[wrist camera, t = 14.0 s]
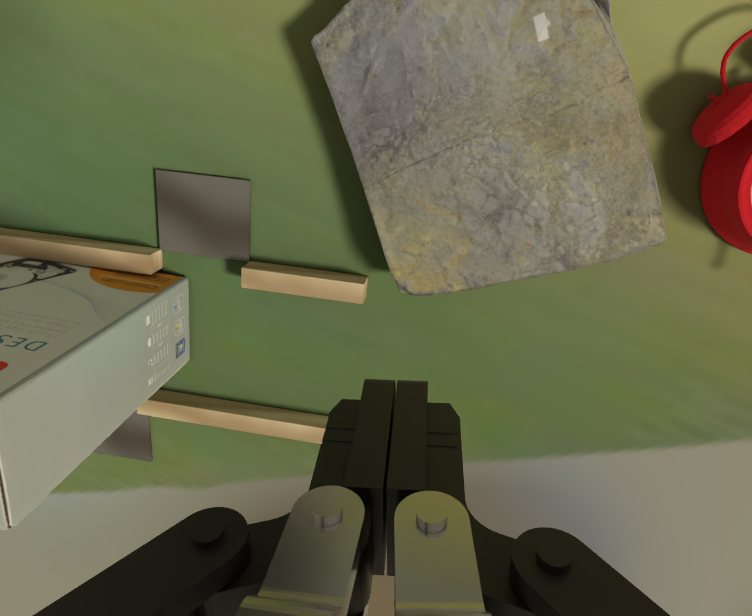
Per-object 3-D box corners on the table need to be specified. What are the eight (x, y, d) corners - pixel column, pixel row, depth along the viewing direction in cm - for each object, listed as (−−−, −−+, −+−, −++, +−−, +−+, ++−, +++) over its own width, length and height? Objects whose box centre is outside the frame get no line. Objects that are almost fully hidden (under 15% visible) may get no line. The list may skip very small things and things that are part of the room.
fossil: (581, -94, 33) (308, 21, 36) (605, -119, 29) (293, 13, 32) (645, 226, 40) (409, 299, 43) (672, 244, 35) (407, 323, 39)
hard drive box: (191, 273, 44) (-6, 410, 26) (192, 361, 47) (15, 540, 28) (5, 243, 45) (-308, 352, 27) (17, 330, 48) (-258, 481, 30)
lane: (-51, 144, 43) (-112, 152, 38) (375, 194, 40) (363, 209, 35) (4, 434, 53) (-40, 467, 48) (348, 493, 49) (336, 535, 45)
